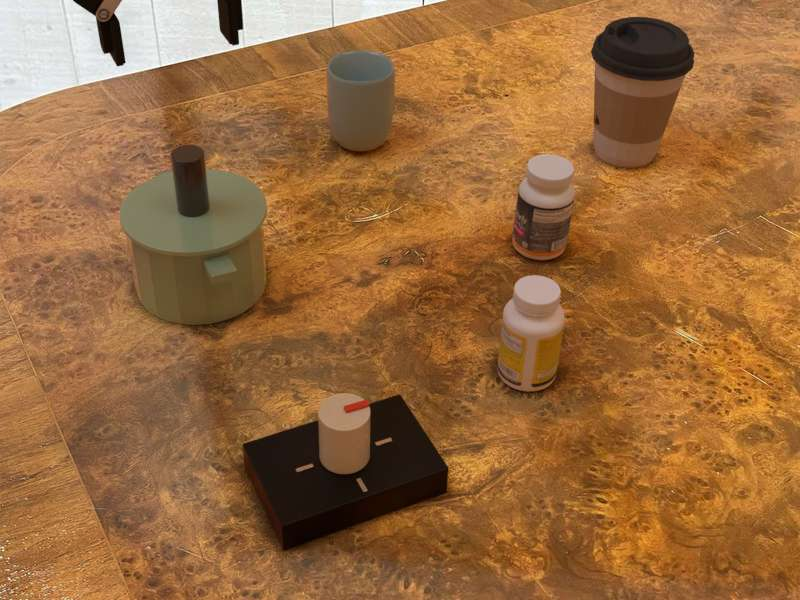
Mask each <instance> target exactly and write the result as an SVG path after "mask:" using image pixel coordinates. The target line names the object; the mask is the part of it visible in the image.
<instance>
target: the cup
mask: <svg viewBox="0 0 800 600" xmlns="http://www.w3.org/2000/svg"><path fill="white" fill-rule="evenodd" d="M325 75H326V76H325V77H326V79H325V80H326V81H325V82H326V105H327V106H326V107H327V118H328V124H329V129H330V131H331V134H332V136H333V138H334V140H335V141H336V143H337V144H338V145H339V146H341V147H342V148H344V149H346V150H348V151H351V152H368V151H369V152H370V151H373V150H376V149H377V148H380V147H381V146H382V145H383V144H385V142H386V141H387V140H388V138H389V136H390V133H391V129H392V125H393V120H394V113H395V98H396V69H395V63H394V62H393V60H392V59H391V58H390V57H388V56H387V55H385V54H383V53H381V52H377V51H372V50H349V51H344V52H340V53H337V54H335V55H333V56H332V57H331V58H330V59H329V60H328V62H327V64H326V74H325Z"/></svg>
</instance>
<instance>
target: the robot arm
mask: <svg viewBox="0 0 800 600" xmlns="http://www.w3.org/2000/svg"><path fill="white" fill-rule="evenodd" d="M72 1H73V2H74V3H75V4H76V5H78V6H80V7H81V8H82V9H83V10H85V11H87V12H88V13H90V14H91V15H93V16H94V17H95V22H96V27H97V32H98V33H97V34H98V38H99V44H100V49H101V50H102V53H103V54H104V55H106V54H109V55H110V57H111V58H112V60H113V62H114V63H115V65H116V67H123V66H125V65H124V64H127V62H126V57H125V56H126V55H125V48H124V43H123V35H122V30H121V23H120V20H119V18H118V17H117V15H116V13H115V12H116V11H117V9H118V7H119V6H120V4H121V3H122V1H123V0H72ZM216 2H217V12H218V13H217V14H218V23H219V25H218V26H219V31H220V33H221V35H222V36H223V37H224V39H225V41H226V42H227V43H228V44H229V45H231V46H239V45H240V35H239V31H242V30H244V17H243V5H242V0H216Z"/></svg>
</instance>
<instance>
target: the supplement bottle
mask: <svg viewBox="0 0 800 600" xmlns="http://www.w3.org/2000/svg"><path fill="white" fill-rule="evenodd" d="M513 286H514V287H513V293H512V297H511V299H509V300H508V301H507V302H506V303H505V306H504V308H503V310H502V318H501V328H500V336H499V344H498V345H499V346H498V354H497V366H496V367H497V374H498V377H499V378H500V380H501V381H502V382H503V383H504V384H506V385H507V386H508V387H510V388H512V389H514V390H517V391H521V392H538V391H541V390H545V389H546V388H548V387H549V386H551V385H552V383H554V381H555V380H556V378H557V377H556V376H557V372H558V367H559V359H560V353H561V349H562V348H561V347H562V342H563V335H564V329H565V322H566V321H565V312H564V309H563V307H562V305H560V302H561V295H562V291H561V287H560V285H559V284H558V283H557V282H556V281H554V280H553V279H552V278H549V277H547V276H544V275H539V274H537V275H536V274H535V275H534V274H531V275H526V276H523V277H521V278H519V279H518V280H517V281H516V282H515V284H514V285H513Z"/></svg>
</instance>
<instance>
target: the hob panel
mask: <svg viewBox="0 0 800 600" xmlns="http://www.w3.org/2000/svg"><path fill="white" fill-rule="evenodd" d="M369 407H370V412H371V413H370V458H369V461H368V463H367V464H366V466H365V467H364V468H362V469H361V470H359V471H357V472H355V473H351V474H337V473H334V472H331V471H329V470H328V469H326V468H325V467H324V466H323V464H322V463H321V461H320V456H319V424H318V419H317V420H313V421H311V422H307V423H304V424H301V425H298V426H295V427H292V428H288V429H285V430H281V431H278V432H275V433H272V434H269V435H265V436H264V437H263V436H262V437H259V438H257V439H253V440H250V441H247V442H244V443H242V444H241V445H242V455H243V463H244V466H243V467H244V470H245V472H246V475H247V477H248V479H249V480H250V483H251V485H252V487H253V489H254V491H255V493H256V495H257V498H258V500H259V502H260V504H261V506H262V509H263V511H264V513H265V515H266V517H267V519H268V521H269V523H270V525H271V528H272V530H273V533H274V535H275V537H276V539H277V540H278V543H279V544H280V547H281V549H282V551H288V550H290V549H292V548H295V547H298V546H300V545H304V544H306V543H309V542H312V541H314V540H317V539H320V538H323V537H326V536H329V535H332V534H334V533H337V532H340V531H343V530H345V529H348V528H351V527H353V526H357V525H359V524H363V523H365V522H368V521H371V520H373V519H376V518H379V517H382V516H385V515H387V514H390V513H393V512H397V511H398V510H402V509H404V508H408V507H410V506H413V505H415V504H418V503H421V502H424V501H426V500H429V499H432V498H435V497H438V496H440V495H443V494H446V493H447V490H448V480H449V467H448V464H447V463H446V462H445V460H444V459H443V457H442V456H441V454H440V452H439V451H438V450H437V447H435V445H434V443H433V442H432V441H431V439H430V437H429V436H428V434H427V433H426V431H425V430H424V429H423V427H422V425H421V424H420V422H419V421H418V419H417V417H416V416H415V415H414V413H413V412H412V410H411V408H410V407H409V406H408V404H407V403H406V401H405V399H404V397H402V395H401V394H400V393H399V394H395V395H393V396H390V397H385V398H383V399H380V400H376V401H373V402H370V403H369Z"/></svg>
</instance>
